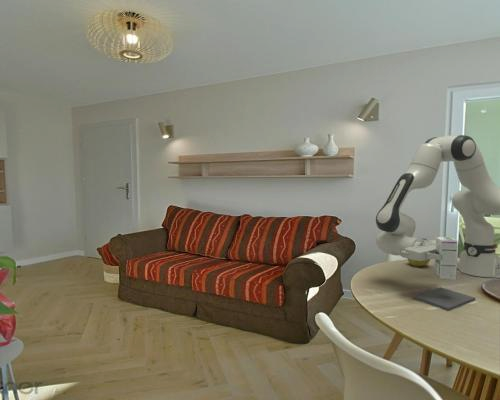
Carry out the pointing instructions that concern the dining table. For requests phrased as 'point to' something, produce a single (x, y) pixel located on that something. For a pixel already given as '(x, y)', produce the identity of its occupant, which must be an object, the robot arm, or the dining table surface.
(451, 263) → the syrup box
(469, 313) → the dining table surface
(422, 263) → the fruit
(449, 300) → the placemat
